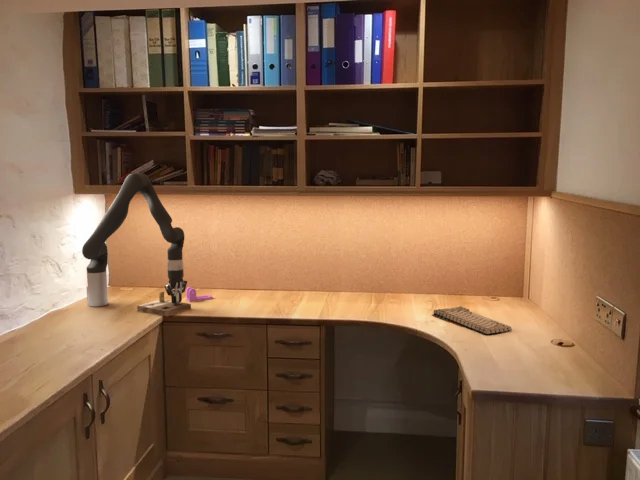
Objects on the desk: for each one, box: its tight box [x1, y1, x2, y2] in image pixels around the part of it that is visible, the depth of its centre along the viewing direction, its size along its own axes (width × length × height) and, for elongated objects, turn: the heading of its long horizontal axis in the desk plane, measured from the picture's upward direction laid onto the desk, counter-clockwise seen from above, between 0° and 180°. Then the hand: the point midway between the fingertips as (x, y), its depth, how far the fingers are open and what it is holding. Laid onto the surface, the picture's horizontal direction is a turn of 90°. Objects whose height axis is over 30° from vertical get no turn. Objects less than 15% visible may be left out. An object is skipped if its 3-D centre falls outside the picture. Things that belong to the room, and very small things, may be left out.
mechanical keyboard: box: [431, 306, 513, 337], centre depth 244 cm, size 38×19×3 cm, turn 27°
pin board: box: [136, 291, 192, 317], centre depth 264 cm, size 20×16×8 cm
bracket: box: [185, 286, 213, 303], centre depth 285 cm, size 13×6×7 cm, turn 120°
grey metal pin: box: [174, 292, 179, 306], centre depth 264 cm, size 2×2×9 cm
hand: (176, 302), depth 264 cm, fingers open, 3 cm apart
